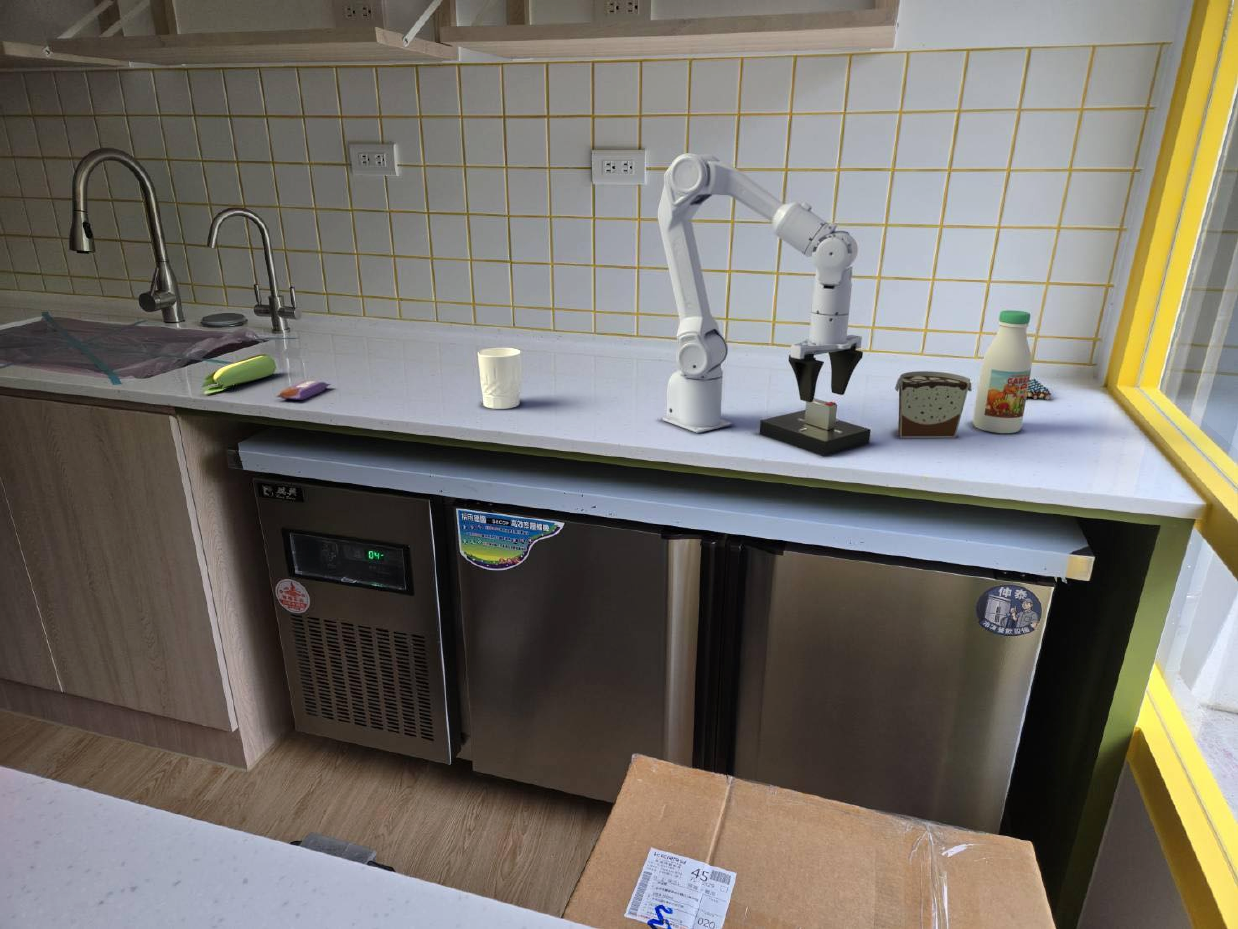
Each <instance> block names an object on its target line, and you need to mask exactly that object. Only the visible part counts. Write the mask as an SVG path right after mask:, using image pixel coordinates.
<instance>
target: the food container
mask: <svg viewBox="0 0 1238 929" xmlns="http://www.w3.org/2000/svg"><path fill="white" fill-rule="evenodd" d="M894 390H895V391H896V392H898V425H897V435H898V438H900V439H917V438H918V439H922V438H924V439H934V438H935V439H938V438H939V439H943V438H944V439H945V438H946V439H947V438H949V439H950V438H953V439H954V438H955V439H956V437H957V434H958V430H959V425H960V422H961V419H962V414H963V411H964V407H965V402H966V400H967V395H968V392H972V391H973V389H972V382H971V378H969V377H967V376H964V375H960V374H955V373H949V372H944V371H943V372H942V371H931V370H929V371H927V370H918V371H916V370H915V371H908V372H904V373H901V374H900V375H899V377H898V379H897V381H896V384H895V387H894Z"/></svg>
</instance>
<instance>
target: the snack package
mask: <svg viewBox="0 0 1238 929" xmlns="http://www.w3.org/2000/svg"><path fill="white" fill-rule="evenodd" d="M331 385H332V383H326V382H324V381H311V380H304V381H301V382H299V383H296V384H294V385H291V386H289V387H286V388H284V389H283V390H282V391H280V392H279V394H277V395H275V398H280V399H284V400H297V401H302V400H303V401H304V400H307V399H308V398H311V397H313V396H316V395H317V394H320V393H322V392H323V391H325V390H326V389H327V388H328V387H329V386H331Z"/></svg>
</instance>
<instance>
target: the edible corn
mask: <svg viewBox="0 0 1238 929" xmlns="http://www.w3.org/2000/svg"><path fill="white" fill-rule="evenodd" d="M276 369H277V365H276V361H275V359H274V358H273V357H272V356H271V355H270V354H267V353H262V354H261V353H260V354H256V355H253V356H249V357H246V358H243V359H241V360H239V361H236V362H234V363H232V364H229V365H225V366H224V367H221V368H219V369H218V370H216V371H214V372H211V373H210V374H207V375H206V376H205V377H204V378H203V380H205V381H204V382H203V384H202V386H201V388H202V387H205V386H208V385H211V384H217V383H218V385H215V386H212V387H209V388H207V390H205V391H204V392H203V394H204V395H206V394H213V393H217V392H220V391H223V390H226V389H230V388H232V387H235V386H238V385H242V384H245V383H249V382H254V381H257V380H262V379H265V378H267V377H270V376H273V375H274V374H275V373H276ZM233 384H234V385H233Z"/></svg>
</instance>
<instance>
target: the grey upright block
mask: <svg viewBox="0 0 1238 929" xmlns="http://www.w3.org/2000/svg"><path fill="white" fill-rule="evenodd" d="M804 410H805V420H804V423H806V424H810V425H813V426H816V427H819V428H822V429H826V430H830V429H834V428H835V423H836V419H837V414H838V413H837V412H838V404H837V403H836V402H834V401H825V400H822V399H818V398H815V397H814V399H813V402H806V401H805V409H804Z"/></svg>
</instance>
